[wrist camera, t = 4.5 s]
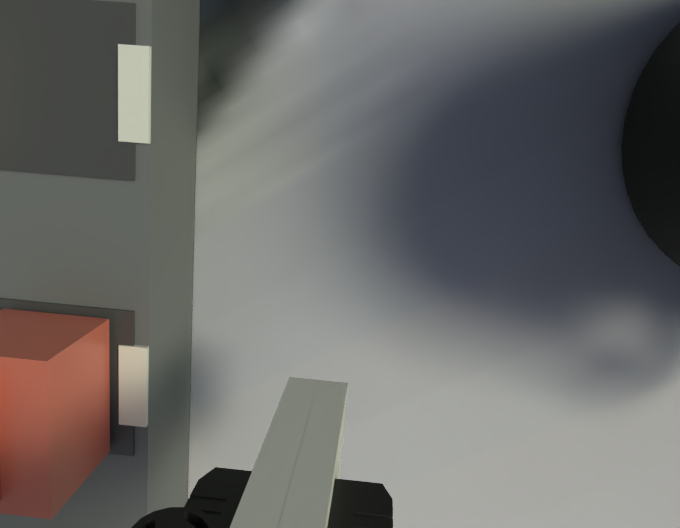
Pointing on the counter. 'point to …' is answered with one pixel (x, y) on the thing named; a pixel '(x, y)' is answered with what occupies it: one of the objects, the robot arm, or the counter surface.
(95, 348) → the slider
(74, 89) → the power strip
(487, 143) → the counter surface
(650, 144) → the mug
